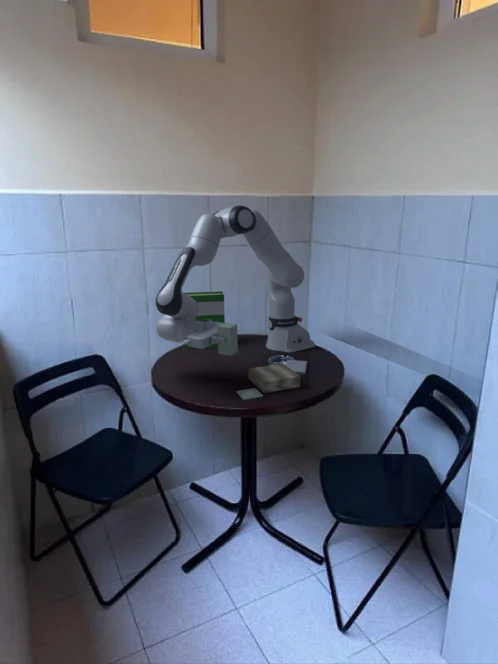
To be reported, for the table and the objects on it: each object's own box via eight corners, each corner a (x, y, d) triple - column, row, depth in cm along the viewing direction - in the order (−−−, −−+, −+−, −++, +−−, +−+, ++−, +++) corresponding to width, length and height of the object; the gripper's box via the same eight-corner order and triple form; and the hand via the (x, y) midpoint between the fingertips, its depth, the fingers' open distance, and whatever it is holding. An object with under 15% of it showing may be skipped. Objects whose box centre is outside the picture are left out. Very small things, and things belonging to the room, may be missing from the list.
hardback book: (223, 341, 209) (222, 291, 203) (225, 346, 202) (224, 294, 196) (185, 343, 207) (183, 292, 200) (186, 348, 200) (183, 296, 193)
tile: (255, 388, 157) (255, 387, 157) (263, 396, 151) (263, 395, 151) (236, 392, 154) (236, 390, 154) (244, 400, 148) (243, 398, 148)
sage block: (225, 349, 160) (224, 322, 157) (237, 351, 158) (237, 324, 155) (218, 353, 156) (217, 326, 153) (230, 355, 154) (230, 328, 151)
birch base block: (282, 373, 171) (282, 363, 170) (300, 386, 159) (300, 376, 157) (248, 378, 166) (248, 368, 165) (264, 393, 153) (264, 382, 152)
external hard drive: (283, 374, 171) (286, 363, 183) (305, 376, 169) (306, 364, 181) (283, 370, 170) (286, 359, 182) (305, 372, 169) (307, 360, 181)
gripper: (179, 332, 151) (214, 337, 145) (210, 318, 169) (243, 322, 163) (180, 349, 153) (215, 355, 147) (211, 334, 170) (243, 338, 165)
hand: (230, 338), depth 155 cm, fingers closed on sage block, 5 cm apart
